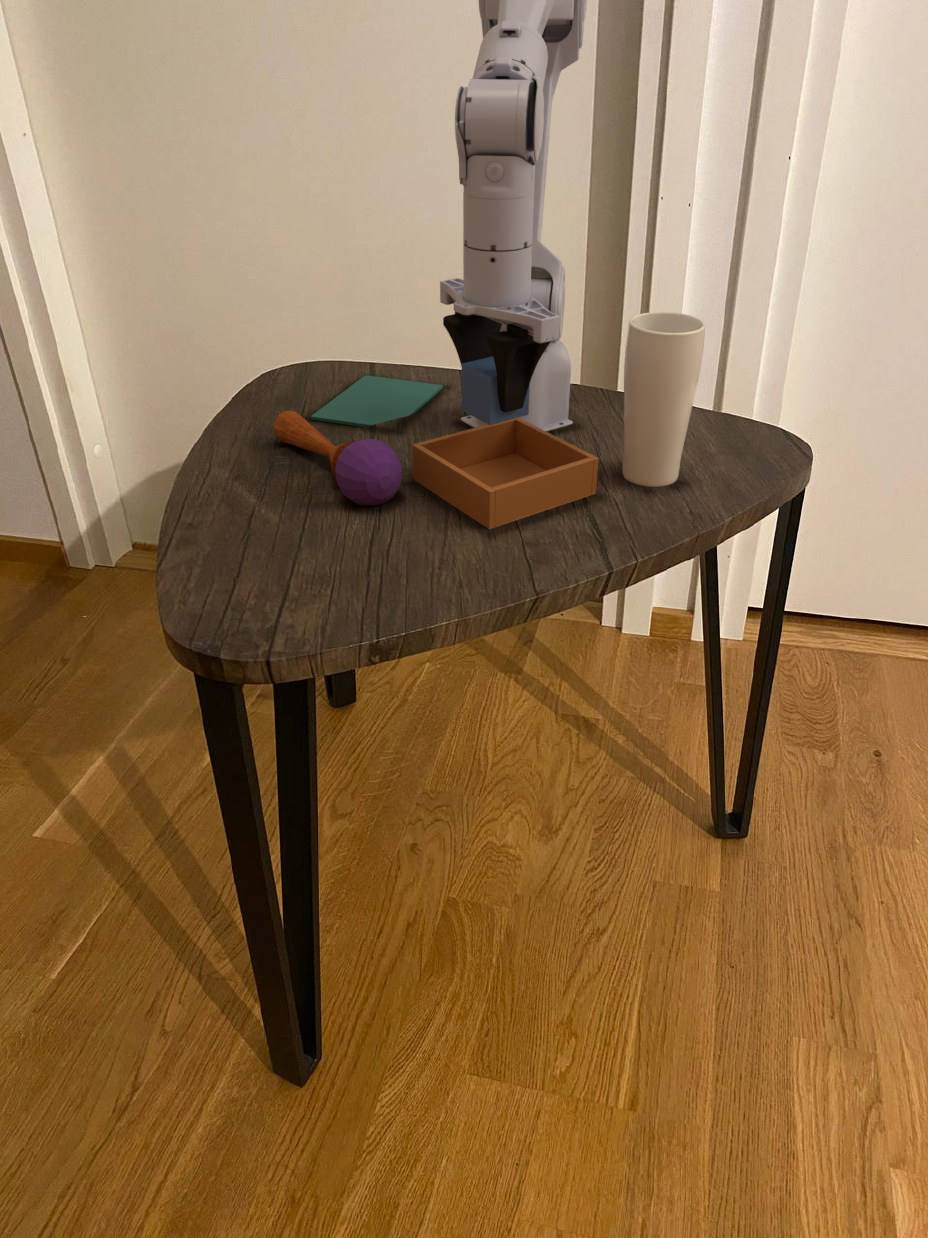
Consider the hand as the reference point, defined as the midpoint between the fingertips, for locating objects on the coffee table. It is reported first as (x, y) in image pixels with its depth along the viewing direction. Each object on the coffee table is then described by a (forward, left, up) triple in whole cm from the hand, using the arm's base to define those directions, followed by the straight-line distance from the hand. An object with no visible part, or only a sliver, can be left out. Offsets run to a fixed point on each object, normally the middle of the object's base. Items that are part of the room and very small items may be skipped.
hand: (494, 400), depth 89 cm
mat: (-2, -24, -8) cm, 26 cm away
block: (0, 0, -1) cm, 1 cm away
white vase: (-13, +8, -8) cm, 17 cm away
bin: (0, +2, -8) cm, 8 cm away
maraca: (+12, -10, -8) cm, 18 cm away
